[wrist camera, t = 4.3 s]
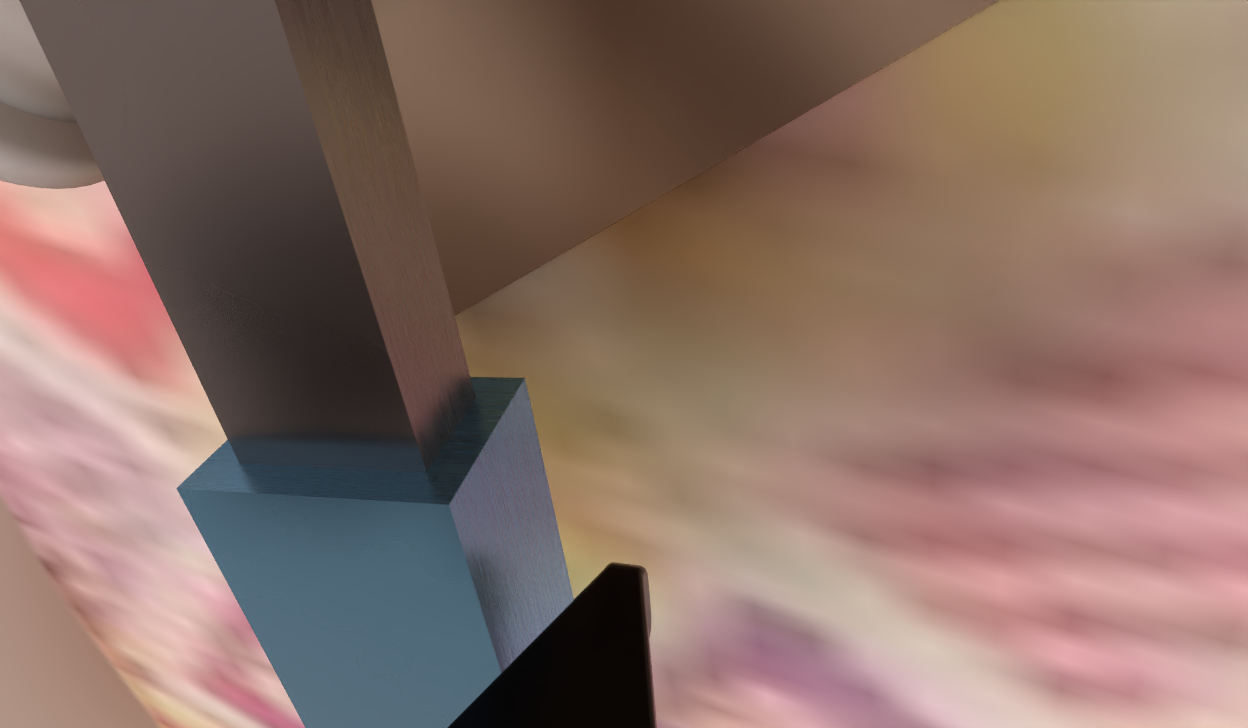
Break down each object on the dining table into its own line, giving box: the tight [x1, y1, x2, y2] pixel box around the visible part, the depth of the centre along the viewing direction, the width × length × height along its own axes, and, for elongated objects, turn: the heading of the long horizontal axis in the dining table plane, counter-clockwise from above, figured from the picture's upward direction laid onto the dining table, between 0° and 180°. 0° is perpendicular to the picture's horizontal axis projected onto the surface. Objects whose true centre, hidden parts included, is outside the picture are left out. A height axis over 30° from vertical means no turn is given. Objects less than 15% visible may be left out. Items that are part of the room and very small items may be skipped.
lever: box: [19, 0, 574, 728], centre depth 7 cm, size 15×3×2 cm, turn 7°
